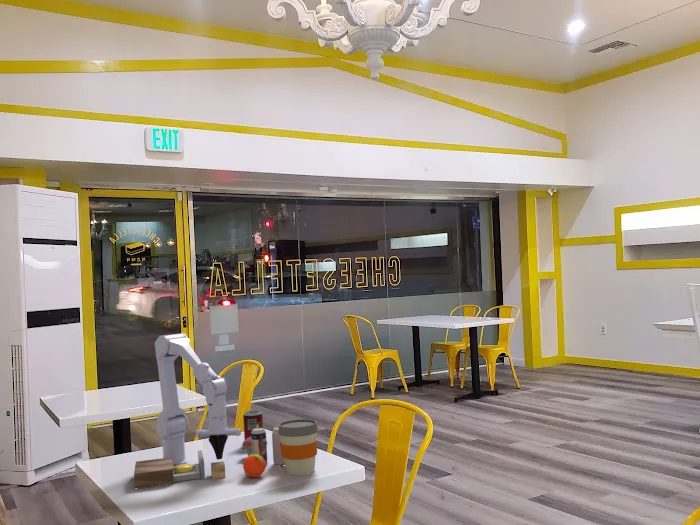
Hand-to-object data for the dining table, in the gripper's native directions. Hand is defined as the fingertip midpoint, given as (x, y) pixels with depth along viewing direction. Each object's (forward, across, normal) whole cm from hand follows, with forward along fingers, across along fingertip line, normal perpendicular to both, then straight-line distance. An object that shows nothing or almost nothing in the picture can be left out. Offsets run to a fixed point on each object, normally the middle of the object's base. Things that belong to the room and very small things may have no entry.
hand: (219, 458), depth 214 cm
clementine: (+4, -14, +7) cm, 16 cm away
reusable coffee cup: (+4, -27, +2) cm, 27 cm away
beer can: (+4, -12, -5) cm, 14 cm away
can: (+4, -20, -7) cm, 21 cm away
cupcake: (+4, -8, -16) cm, 18 cm away
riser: (+4, -1, +6) cm, 7 cm away
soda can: (+4, -2, -34) cm, 34 cm away
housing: (+4, +19, +8) cm, 20 cm away
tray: (+4, +10, +4) cm, 12 cm away
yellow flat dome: (+3, +11, +4) cm, 12 cm away
